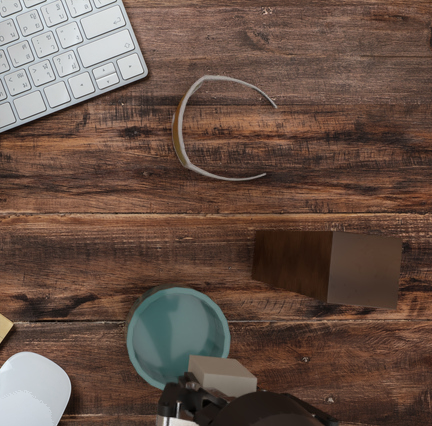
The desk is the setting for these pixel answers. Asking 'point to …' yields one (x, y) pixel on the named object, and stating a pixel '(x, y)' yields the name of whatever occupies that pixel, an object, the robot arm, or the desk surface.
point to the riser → (331, 266)
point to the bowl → (173, 332)
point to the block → (222, 375)
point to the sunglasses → (179, 117)
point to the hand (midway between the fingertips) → (214, 385)
